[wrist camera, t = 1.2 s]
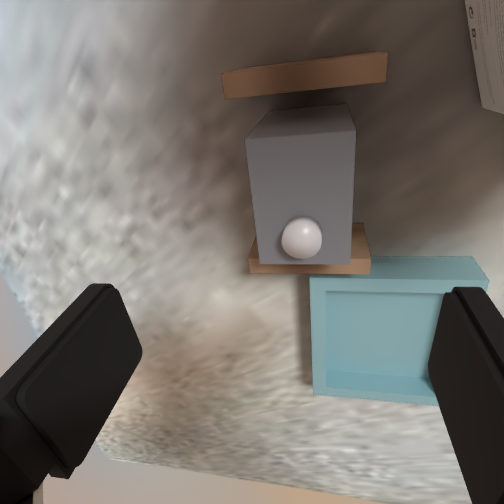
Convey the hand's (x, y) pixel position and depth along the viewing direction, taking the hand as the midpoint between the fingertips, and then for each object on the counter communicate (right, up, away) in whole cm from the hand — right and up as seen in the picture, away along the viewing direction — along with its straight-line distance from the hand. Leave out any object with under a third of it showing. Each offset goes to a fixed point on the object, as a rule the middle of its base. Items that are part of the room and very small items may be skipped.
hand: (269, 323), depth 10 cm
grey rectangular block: (+4, +9, +14) cm, 16 cm away
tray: (+11, -4, +20) cm, 23 cm away
